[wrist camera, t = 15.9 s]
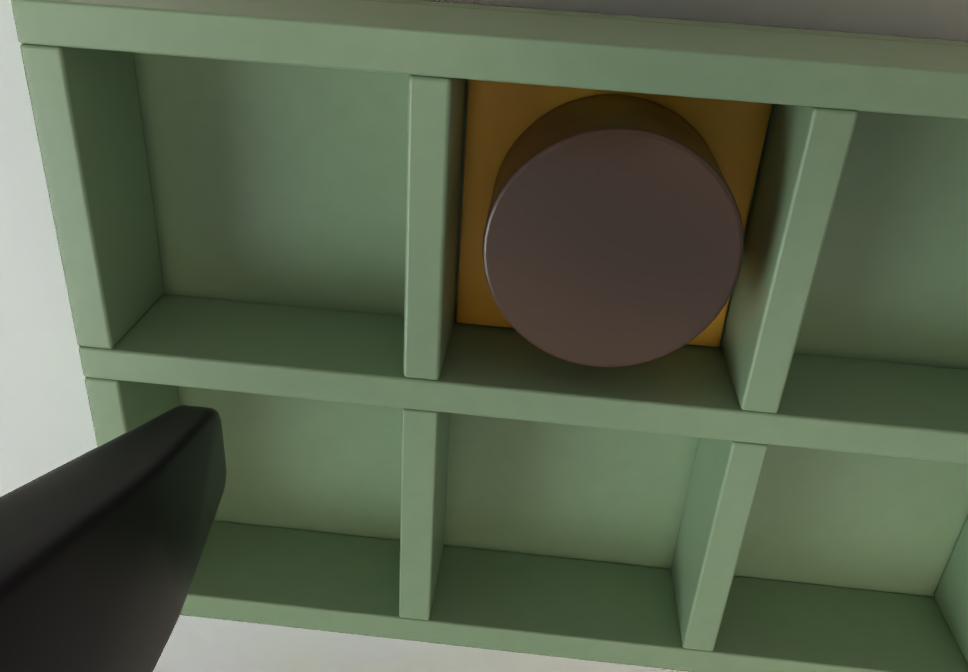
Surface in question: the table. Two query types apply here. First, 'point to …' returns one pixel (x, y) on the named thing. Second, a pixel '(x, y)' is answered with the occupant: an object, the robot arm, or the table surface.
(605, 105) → the cylinder
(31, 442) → the table surface
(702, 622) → the grid
